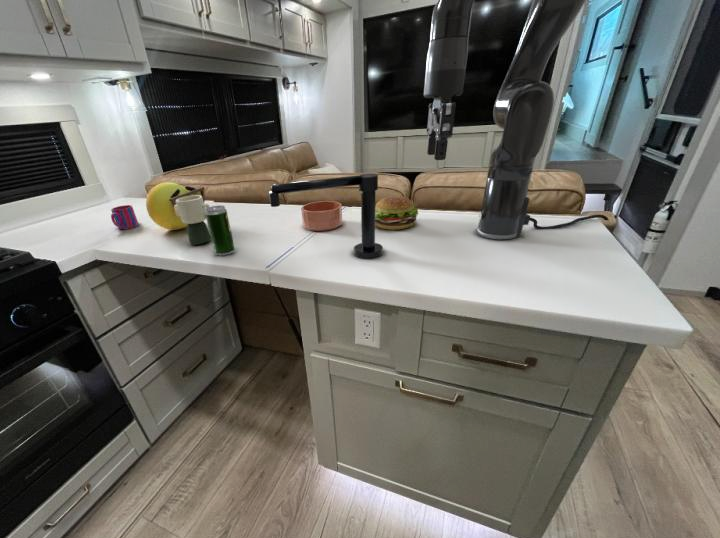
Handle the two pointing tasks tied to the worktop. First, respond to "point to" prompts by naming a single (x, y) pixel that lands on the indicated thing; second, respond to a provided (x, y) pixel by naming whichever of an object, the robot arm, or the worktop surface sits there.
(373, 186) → the spout
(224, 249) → the beer can
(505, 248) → the worktop surface
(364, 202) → the faucet base
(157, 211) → the emoji
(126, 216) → the cup
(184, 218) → the character mug
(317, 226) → the basin
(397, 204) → the food
